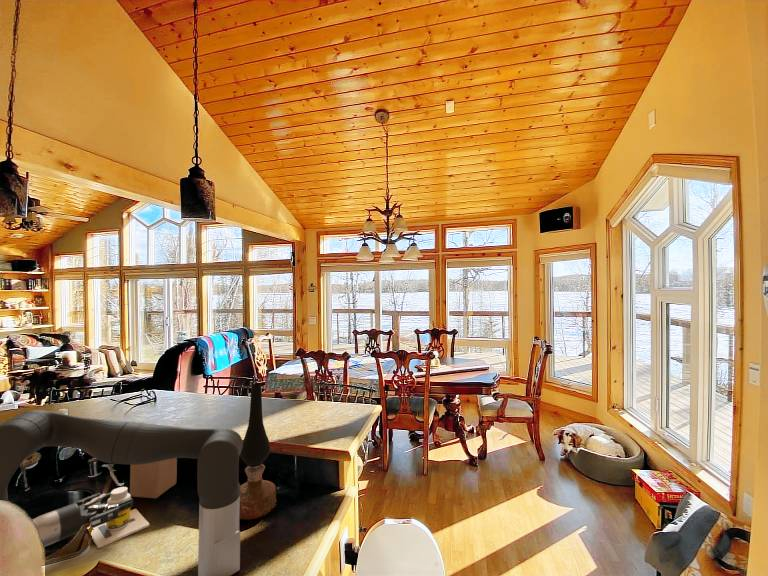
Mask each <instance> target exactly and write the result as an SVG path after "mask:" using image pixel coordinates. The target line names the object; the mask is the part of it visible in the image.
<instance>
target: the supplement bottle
mask: <svg viewBox="0 0 768 576" xmlns="http://www.w3.org/2000/svg"><path fill="white" fill-rule="evenodd" d="M128 490H129V488H128V487H127V486H120V487H117V488H114V489H112V490H111V492H110V493H111V496H110V498H109V499H108V501H107V502H106V504H109V505H115V504H118V503H121V502H123V501H126V500H128V499H130V498H132V497H131V495H130V492H129V491H128ZM109 510H111V509H109ZM130 511H131V507H130V508H128V509H125V510H123V511H121V512H119V513H118V518H116V519H114V520H111V521H109V522H106V529H107V530H109V531H115V530H119V529H121V528H123V527H125V526H126V525H127V524H128V523H129V521H130ZM109 517H111V516H109ZM109 517H108V518H109Z"/></svg>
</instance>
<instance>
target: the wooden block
mask: <svg viewBox="0 0 768 576" xmlns="http://www.w3.org/2000/svg"><path fill="white" fill-rule="evenodd" d="M177 462H178V458H174V459H168V460H163V461H158V462H153V463H148V464H140V465H130V467H129V469H130V472H129V475H130V476H129V494H130V495H131V498H145V499H146V498H147V499H158V498H159V497H160V496H161V495H163V494H164V493H165V492H167V491H168V490H169V489H170V488H172V487H174V486H175V485H176V484H177V476H178V475H177V474H178V472H177V470H178V468H177V467H178V465H177V464H178V463H177Z"/></svg>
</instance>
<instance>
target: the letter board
mask: <svg viewBox="0 0 768 576" xmlns="http://www.w3.org/2000/svg"><path fill="white" fill-rule="evenodd" d="M90 527H91V525H90V526H88V527H87V528H86V530H87V529H89V528H90ZM148 527H150V523H149V521H148V520H147V519H146V518H145V517H144V516H143V514H141V513H140V512H139V510H138V509H137V508H134V509H130V521H129V523H128V524H127V525H126V526H125V527H123V528H121V529H119V530H115V531H109V530H107V529H106V523H104V524H102V525H99V526H97V527H94V528H93V529H94V530H92V532H91V536H92V537H91V536H90V537H91V539H92V541H93V542H94V544H95V546H96V547H97V549H100V548H104V547H105V546H108V545H109V544H112V543H114V542H116V541H118V540H119V541H120V540H121V539H123V538H126V537H127V536H131V535H133V534H134V533H137V532H139V531H141V530H143V529H146V528H148Z"/></svg>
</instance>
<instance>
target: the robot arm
mask: <svg viewBox="0 0 768 576" xmlns="http://www.w3.org/2000/svg"><path fill="white" fill-rule="evenodd" d="M242 446H243V438H242V436H241V435H240V433H239V432H237V431H235V430H233V429H230V428H221V427H220V428H219V427H217V428H215V427H214V428H191V427H190V428H188V427H180V426H172V425H171V426H170V425H162V424H153V423H152V424H151V423H145V422H135V421H123V420H122V421H121V420H112V419H110V420H109V419H101V418H89V417H88V418H87V417H80V416H75V415H69V414H67V413H66V414H65V413H60V412H56V411H49V410H44V409H30V410H26V411H24V412H21V413H18V414H17V415H14V416H12V417H11V418H9V419H7V420H6V421H4V422H1V423H0V500H5V501H7V502H8V496H9V495H8V486H9V484H10V482H11V479H12V477H14V474H15V473H16V471H18V469H19V467H20V466H21V465H22V464H23V462H24V461H25V460H26V459H27V458H30V456H32V455H34V454H35V453H36V452H38V451H39V450H40V449H42V448H46V447H65V448H74V449H79V450H80V451H83V452H84V453H86V454H88V455H89V456H91V457H92V458H95V459H96V460H97V461H100V462H102V463H107V464H116V465H117V464H118V465H130V466H131V465H140V464H148V463H153V462H158V461H163V460H168V459H174V458H177V459H183V458H184V459H193V460H194V459H195V460H197V466H196V467H197V469H196V470H197V471H196V472H197V475H196V478H197V487H196V488H197V494H198V498H199V503H198V504H199V506H198V507H199V509H198V546H197V547H198V549H197V550H198V551H197V552H198V553H197V554H198V555H197V556H198V557H197V559H198V561H197V563H198V564H197V567H198V568H197V570H198V571H197V573H198V574H197V576H232V575H234V574H236V573H237V572H239V571H240V569H241V530H240V519H239V514H240V486H241V484H240V482H239V480H240V479H239V473H240V472H239V465H240V453H241V450H242ZM110 496H111V492H109V493H102V494H101V492H97V493H95V494H92V495H90V496H87V497H84V498H82V499H79V500H77V501H75V502H74V503H70V504H68V505H66V506H65V505H64V506H63V507H60V508H57V509H54V510H52V511H49V512H45V513H44V514H41V515H39V516H37V517H35V518H33V519H32V520H33V522H34V523H35V524H36V526H37V528H38V530H39V533H40V536H41V539H42V543H43V548H45V547H47V546H50V545H53V544H55V543H56V542H57V543H58V542H60V541H62V540H64V539H67V538H69V537H71V536H73V535H77V534H78V533H79V531H80V530H81V528H82V527H83V526H85V525H87V524H90V526H91V528H94V527H97V526H99V525H102V524H104V523H106V522H109V521H111V520H114V519H116V518H118V513H119V512H121V511H123V510H125V509H128V508H130V509H131V508H132V507H133V506H134V503H135V502H134V498H133V497H131V498H130V499H128V500H126V501H123V502H121V503H118V504H115V505H109V504H107V501H108V499H109V498H110ZM109 509H111V510H109ZM109 516H111V517H109ZM108 517H109V518H108Z"/></svg>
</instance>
